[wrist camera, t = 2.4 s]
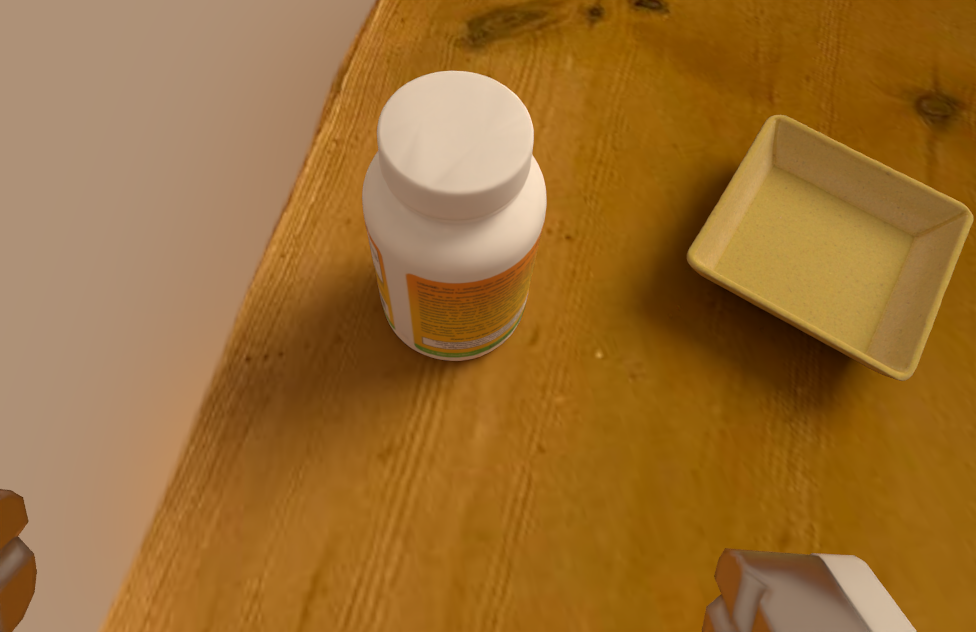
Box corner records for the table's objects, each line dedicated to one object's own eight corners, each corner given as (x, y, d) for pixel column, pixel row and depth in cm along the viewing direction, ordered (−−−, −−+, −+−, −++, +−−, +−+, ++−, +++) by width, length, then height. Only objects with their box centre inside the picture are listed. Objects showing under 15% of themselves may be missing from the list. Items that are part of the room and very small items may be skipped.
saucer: (753, 139, 30) (774, 106, 28) (944, 236, 28) (980, 208, 27) (665, 285, 27) (681, 259, 25) (875, 404, 25) (910, 386, 23)
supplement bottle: (553, 293, 26) (605, 124, 18) (459, 394, 25) (465, 260, 16) (448, 212, 28) (448, 16, 19) (352, 302, 26) (302, 131, 17)
